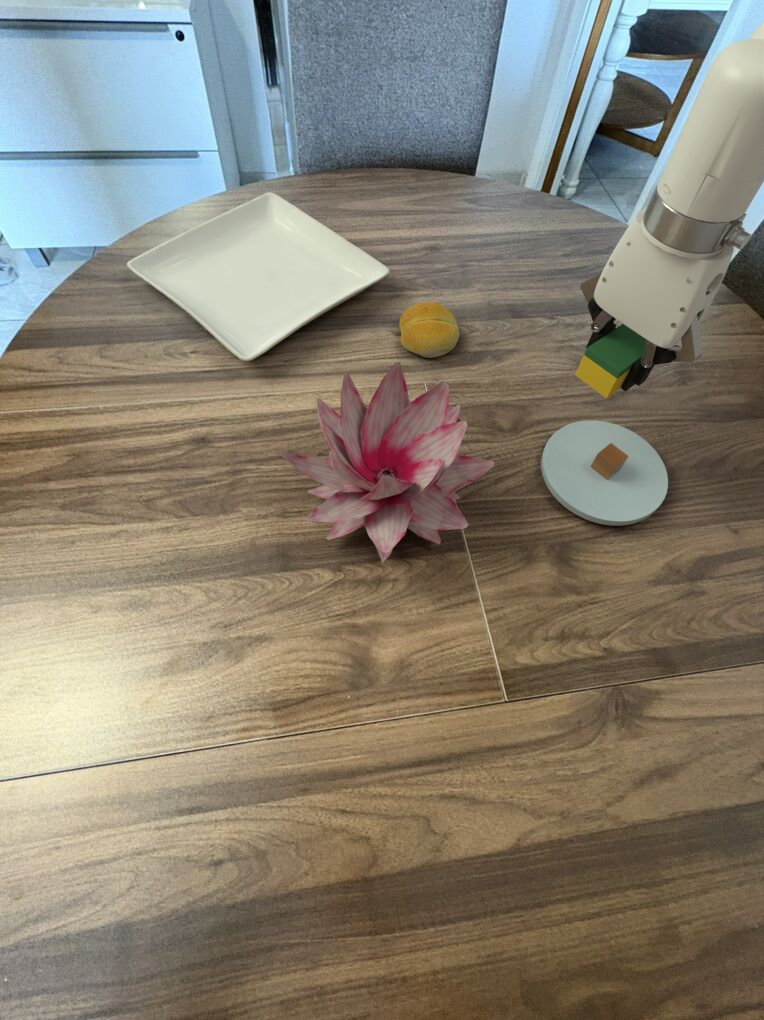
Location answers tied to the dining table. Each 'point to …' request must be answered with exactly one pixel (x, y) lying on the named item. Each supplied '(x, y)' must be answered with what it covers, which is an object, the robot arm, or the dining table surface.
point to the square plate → (257, 273)
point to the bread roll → (428, 329)
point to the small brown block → (609, 461)
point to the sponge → (610, 360)
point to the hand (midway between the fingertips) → (612, 369)
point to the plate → (588, 491)
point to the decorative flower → (391, 463)
